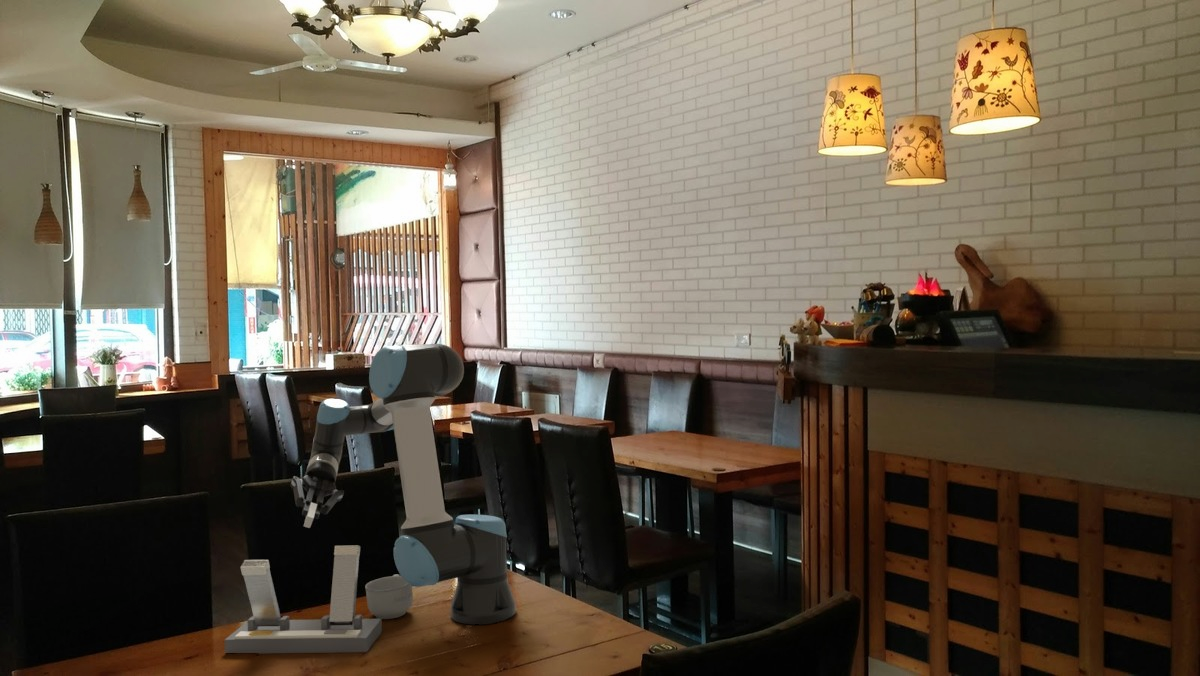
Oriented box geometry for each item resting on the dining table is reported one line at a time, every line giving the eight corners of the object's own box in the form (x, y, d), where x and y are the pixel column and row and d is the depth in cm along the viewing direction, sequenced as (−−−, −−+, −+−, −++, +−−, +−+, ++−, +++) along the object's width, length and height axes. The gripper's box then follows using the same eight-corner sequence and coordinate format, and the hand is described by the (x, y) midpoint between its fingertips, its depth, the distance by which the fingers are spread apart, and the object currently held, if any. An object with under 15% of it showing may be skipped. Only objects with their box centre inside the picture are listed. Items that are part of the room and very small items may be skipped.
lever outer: (282, 621, 194) (268, 559, 187) (278, 629, 192) (264, 567, 185) (259, 621, 195) (244, 560, 188) (255, 629, 192) (240, 567, 185)
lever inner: (354, 625, 194) (360, 546, 199) (351, 625, 191) (357, 545, 197) (331, 625, 194) (338, 546, 199) (328, 625, 191) (334, 545, 197)
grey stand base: (381, 631, 199) (381, 607, 198) (366, 652, 187) (365, 626, 187) (248, 633, 199) (248, 609, 199) (225, 653, 187) (224, 628, 187)
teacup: (401, 624, 204) (400, 589, 204) (357, 621, 206) (356, 587, 206) (425, 604, 217) (424, 572, 217) (384, 602, 220) (383, 570, 219)
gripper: (341, 494, 228) (331, 543, 206) (290, 479, 224) (274, 528, 202) (351, 469, 226) (342, 516, 204) (300, 453, 222) (285, 500, 200)
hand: (308, 522), depth 203 cm, fingers closed
